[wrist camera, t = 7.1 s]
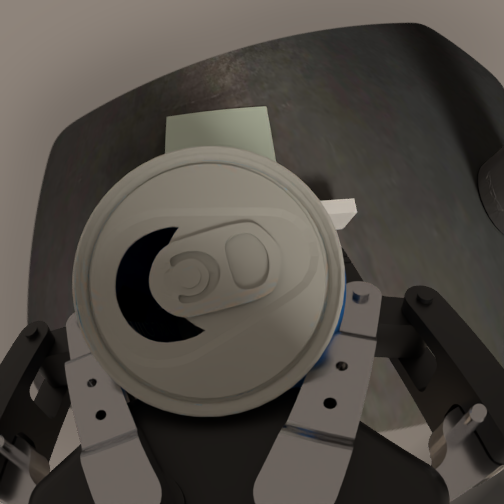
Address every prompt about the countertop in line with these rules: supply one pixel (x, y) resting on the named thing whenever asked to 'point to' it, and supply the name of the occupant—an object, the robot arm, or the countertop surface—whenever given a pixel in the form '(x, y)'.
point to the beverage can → (210, 281)
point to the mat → (222, 130)
